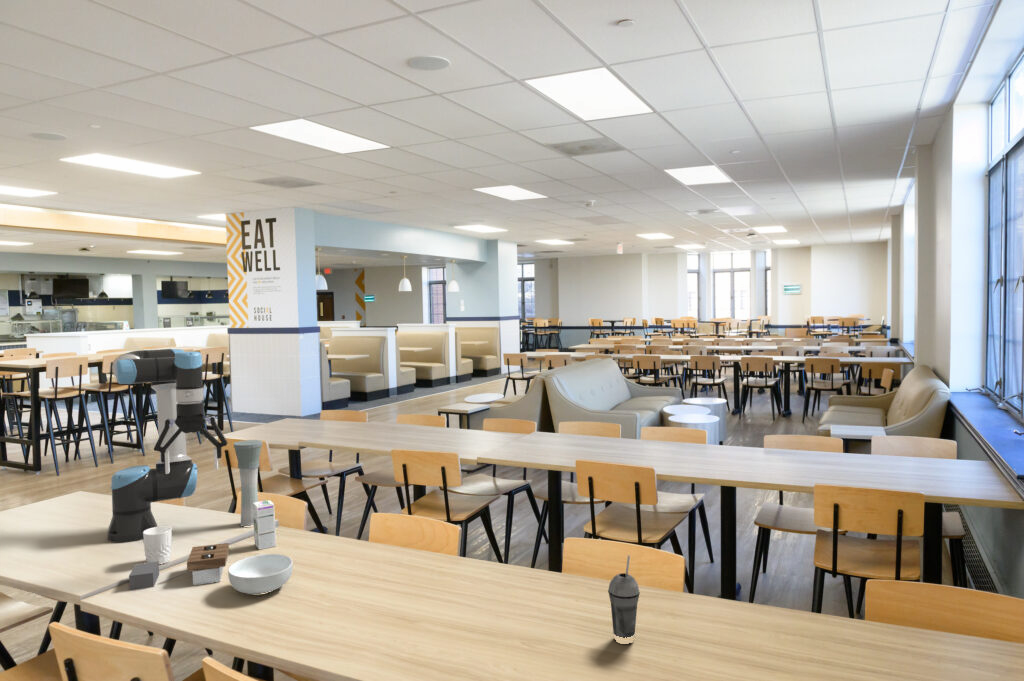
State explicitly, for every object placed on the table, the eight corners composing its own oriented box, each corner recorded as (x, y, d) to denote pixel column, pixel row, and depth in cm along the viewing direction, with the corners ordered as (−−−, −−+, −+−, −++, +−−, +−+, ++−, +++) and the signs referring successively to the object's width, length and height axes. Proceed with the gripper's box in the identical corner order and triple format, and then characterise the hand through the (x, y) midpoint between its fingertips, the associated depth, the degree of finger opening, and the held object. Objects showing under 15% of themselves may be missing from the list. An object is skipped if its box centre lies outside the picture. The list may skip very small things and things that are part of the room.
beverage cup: (605, 633, 158) (604, 550, 157) (635, 631, 159) (634, 549, 158) (612, 648, 151) (612, 562, 150) (643, 647, 151) (643, 561, 150)
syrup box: (276, 546, 218) (275, 503, 218) (257, 550, 215) (256, 506, 214) (272, 541, 223) (270, 499, 222) (253, 545, 220) (252, 502, 219)
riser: (136, 577, 194) (135, 564, 194) (159, 574, 196) (158, 561, 196) (129, 589, 185) (129, 575, 185) (153, 586, 187) (153, 572, 187)
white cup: (178, 557, 210) (177, 526, 209) (162, 567, 202) (161, 534, 201) (154, 556, 210) (153, 525, 210) (138, 566, 203) (137, 534, 202)
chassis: (199, 566, 202) (198, 543, 202) (224, 563, 204) (223, 540, 204) (193, 585, 188) (192, 561, 188) (219, 581, 190) (219, 558, 190)
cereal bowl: (215, 597, 180) (214, 571, 180) (258, 574, 196) (257, 550, 195) (265, 606, 174) (264, 580, 174) (305, 581, 190) (305, 557, 190)
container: (240, 520, 246) (238, 440, 244) (267, 519, 247) (265, 439, 245) (232, 529, 236) (230, 445, 235) (260, 527, 237) (258, 444, 236)
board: (193, 555, 200) (192, 547, 200) (228, 550, 204) (228, 542, 204) (187, 571, 188) (186, 562, 188) (225, 566, 191) (225, 557, 191)
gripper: (141, 406, 195) (144, 477, 196) (233, 401, 203) (235, 470, 204) (146, 402, 202) (149, 471, 203) (234, 398, 210) (236, 464, 211)
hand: (192, 471), depth 204 cm, fingers open, 13 cm apart
